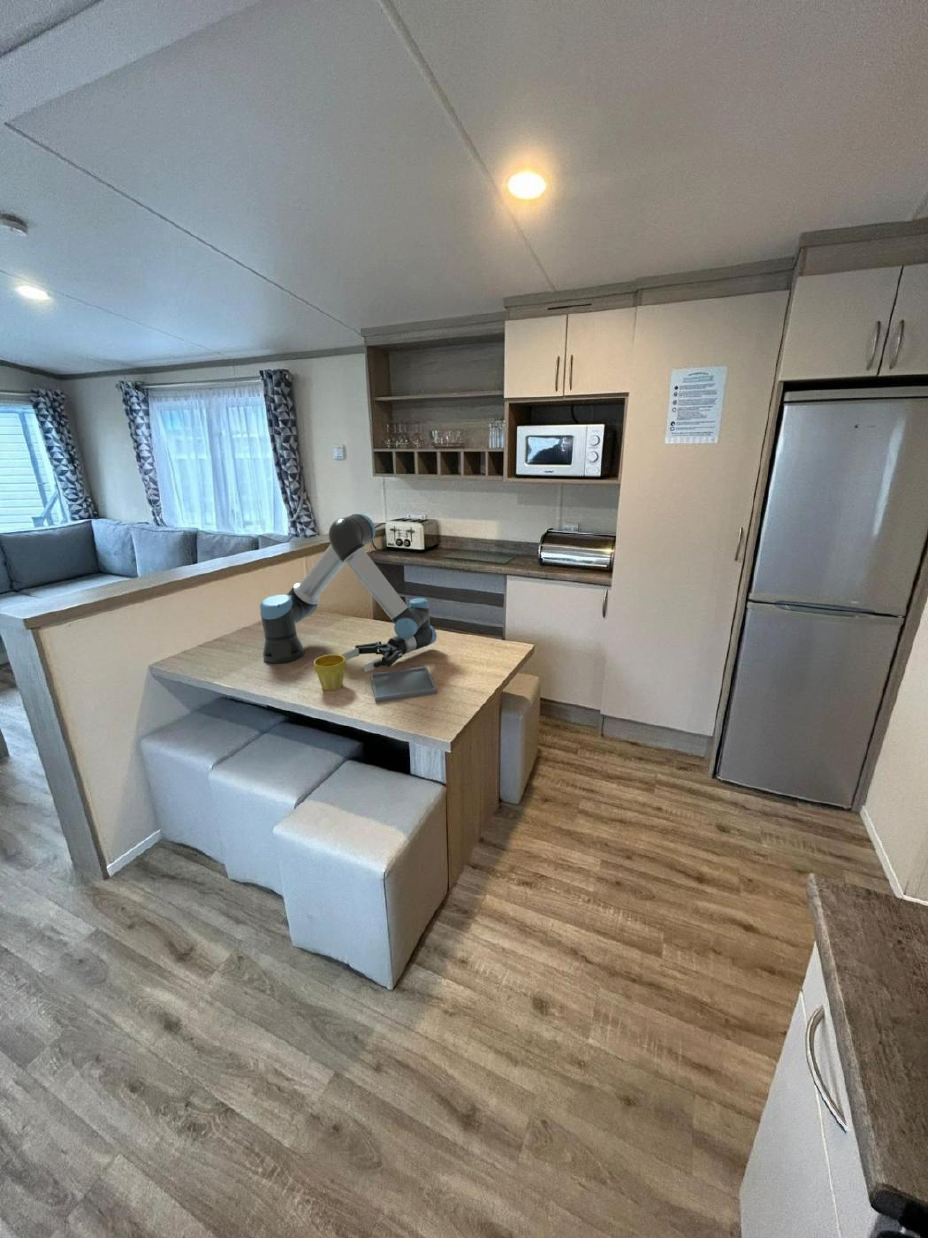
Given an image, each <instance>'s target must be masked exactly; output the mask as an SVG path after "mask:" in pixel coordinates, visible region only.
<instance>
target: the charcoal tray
mask: <svg viewBox="0 0 928 1238" xmlns="http://www.w3.org/2000/svg"><path fill="white" fill-rule="evenodd" d="M369 676H370V683H371V687H372V691H373V697H374V702H375V704H376V703H383V702H390V701H396V700H397V701H398V700H404V699H410V698H417V697H423V696H430V695H431V696H432V695H437V694H438V688H437V686H436V684H435V681H434V679H433V678H432V676H431V673H430V671H429V669H428V667H427V666H420V667H413V668H411V667H410V668H405V669H397V670H391V671H390V670H389V671H384V672H383V671H381V672H374V673H370V674H369Z"/></svg>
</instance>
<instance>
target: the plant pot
mask: <svg viewBox="0 0 928 1238" xmlns="http://www.w3.org/2000/svg"><path fill="white" fill-rule="evenodd" d="M346 666H347V664H346V660H345V658H344V657H343V656H342V654H325V655H322V656H319V657H317V658H315V659H314V661H313V670H314V672H315V674H316V675H317V677H318V680H319V682H320V686H321V689H322V690H324V691H327V692H328V691H329V692H330V691H331V692H332V691H337V690H339V689H340V688H341V687H343V681H344V680H343V679H344V674H345V673H344V672H345V670H346V668H347V667H346Z"/></svg>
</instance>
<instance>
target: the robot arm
mask: <svg viewBox="0 0 928 1238" xmlns="http://www.w3.org/2000/svg"><path fill="white" fill-rule="evenodd" d="M375 536H376V527H375V524H374V522H373V520H372V519H371V518H370V517H369V516H367V515H366V514H362V513H353V514H351V515H348V516H345V517H341V518H338V519H336V520H335V521H333V522H332V524H331V525H330V527H329V530H328V539H329V543H330V545H329V546H328V547H327V548H326V550H324V552H323V553H322V555H321V556H320V558H319V559H318V560H317V561H316V563H315V564H314V565H313V567H312V568H311V569H310V570H309V572H308V574H306V576H305V577H304V578H303V580H302V581H301V582H295V584H294V585H293V586H292V588H291V589H290V590H289V591H288V592H287V594H276V595H273V596H268V597H266V598H264V599H263V600H262V601H261V603H260V605H259V610H260V612H259V613H260V616H261V622H262V629H263V634H264V639H265V640H264V645H263V649H262V650H263V651H262V657H263V661H264V662H266V663H269V664H270V663H271V664H285V663H290V662H293V661H295V660H298V659H300V658H302V657H303V656H304V655H305V650H304V646H303V644H302V643H301V639H300V638H299V637H298V634H297V627H296V624H298V623H299V622H300V621H302V620H305V618H307V617H309V616H311V615H312V614H314V612H315V611H316V609H317V608H318V605H319V603H320V600H321V594H322V593H323V591H325V589H326V587H327V586H328V585H329V584H330V582H331V581H332V580H333V579H334V578H335V576H336V575H337V574H338V573H339V572H340V570H341V569H342V568H343V566H344V565H345V564H346V565H348V566H349V568H350V569H351V570H352V572H353V573H354V574H355V575H356V576H357V578H358V579H359V580H360V582H361V583H362V584H363V585H364V586H365V588H366V589H367V591H368V592H369V594H370V595H372V597H373V599H374V600H375V601H376V603H378V605H379V606H380V607H381V608H382V609H383V611H384V612H385V614H386V615H387V616H388V617H389V618H390V619H391V621H392V622H393V624H394V627H393V629H394V632H395V634H396V636H393V637H391V638H389V639H388V641H387V643H382V641H376V642H370V643H365V644H364V643H363V644H356V645H355V646H354V647H355V648H354V649H351V650H348V651H345V652H342V653H341V656H343V657H344V658H345V661H348V660H351V659H352V658H355V657H356V658H357V657H359V656H360V655H368V654H369V655H370V654H375V655H381V656H382V657H381V658H376V659H374V660H371V661H369V662H365V663H364V664H363V669H364V670H363V671H364V672H365V673H367V672H369V671H372V670H374V669H377V668H379V667H387V668H390V667H392V665H393V664H394V663H396V662H397V660H399V659H401V658H402V657H403V656H405V655H406V654H409V653H411V652H415V651H417V650H420V649H422V648H426V647H428V646H430V645H432V644H434V643H435V642H436V640H437V637H438V635H437V632H436V629H435V628H434V627H433V626H432V625H431V624H430V623H431V622H430V605H429V601H428V599H427V598H423V597H417V598H412V599H410V600H409V602H408V605H407V604H406V603H405V602H404V600H403V599H402V598H401V596H400V595H399V594H398V592H397V591H396V590H395V588H394V587H393V586H392V584H391V583H390V582H389V581H388V580H387V578H386V577H385V575H384V574H383V573H382V571H381V570H380V569H379V567H378V566H377V565H376V563H375V562H374V561H373V559H372V558H371V557H370V556H369V554H368V553H367V552H366V545H368V544H369V543H371V542H372V541H373V540H374V538H375Z"/></svg>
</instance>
